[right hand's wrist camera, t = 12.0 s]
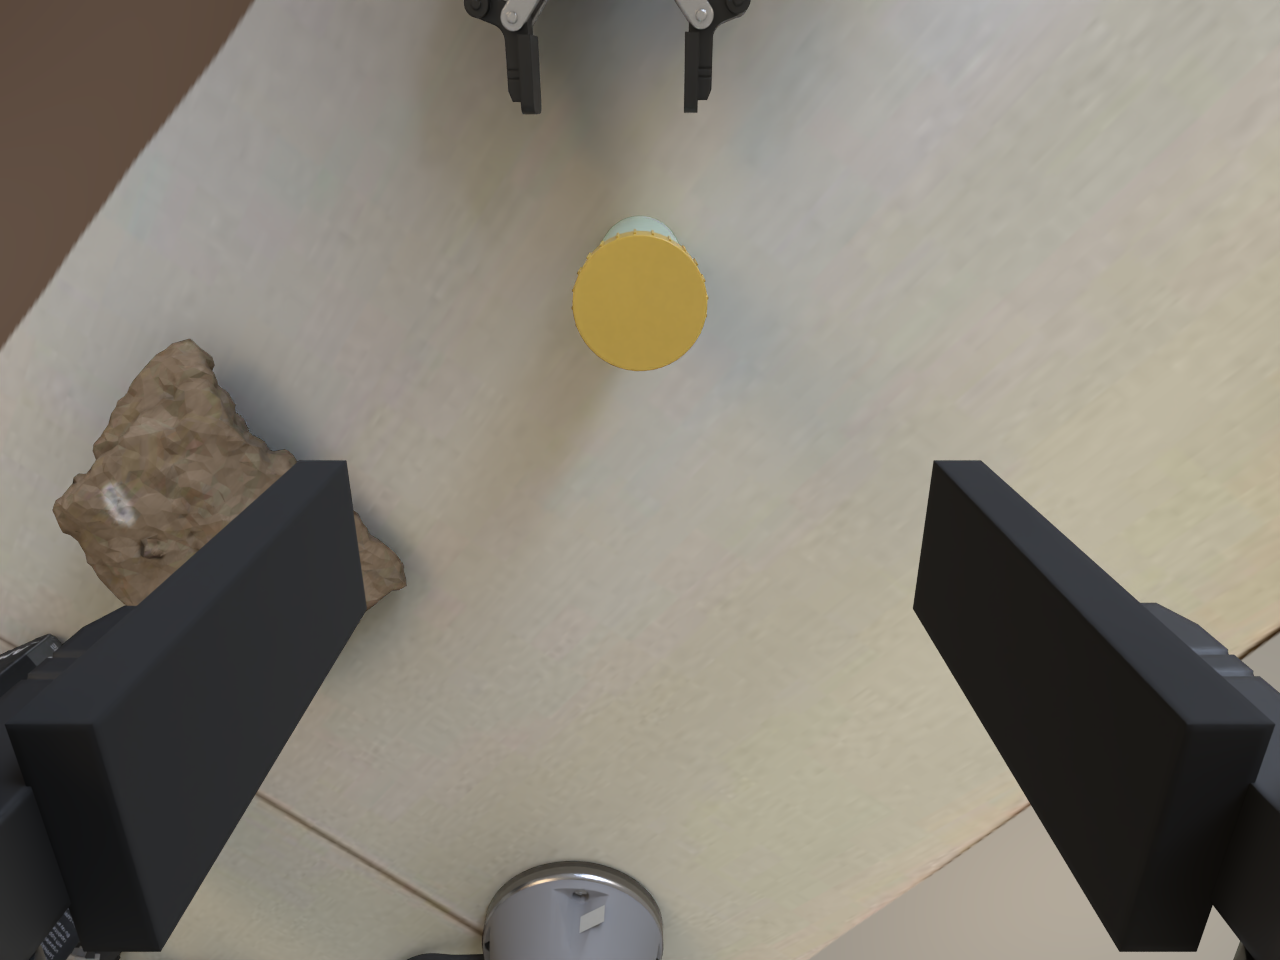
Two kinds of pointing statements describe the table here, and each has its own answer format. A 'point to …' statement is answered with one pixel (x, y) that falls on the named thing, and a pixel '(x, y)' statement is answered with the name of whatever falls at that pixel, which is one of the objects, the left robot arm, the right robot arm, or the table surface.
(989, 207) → the table surface
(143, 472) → the stone
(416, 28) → the table surface
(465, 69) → the table surface
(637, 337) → the lid
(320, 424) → the table surface
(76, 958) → the robot
